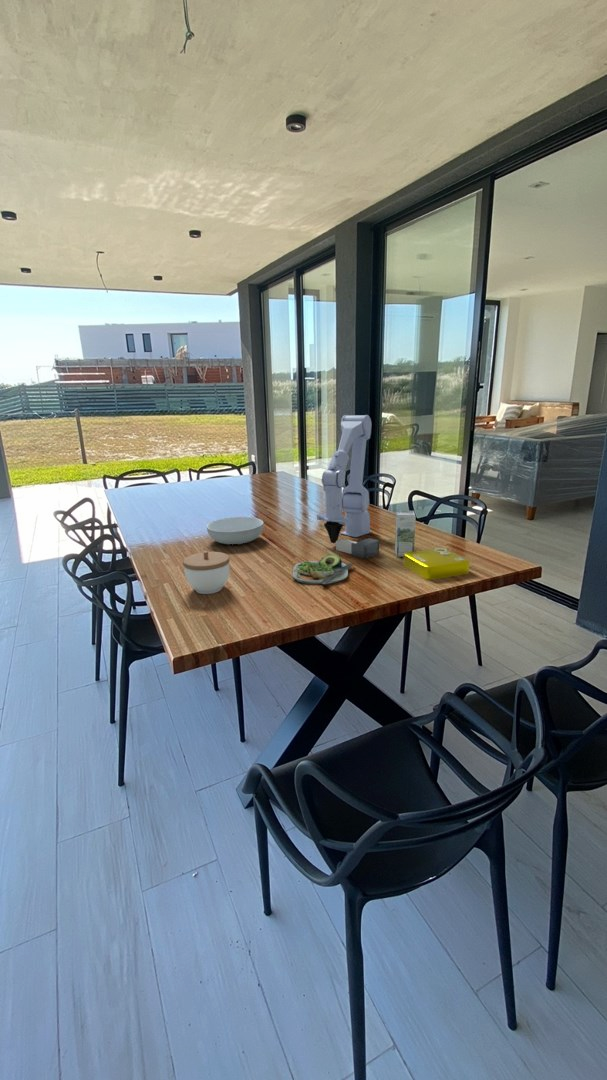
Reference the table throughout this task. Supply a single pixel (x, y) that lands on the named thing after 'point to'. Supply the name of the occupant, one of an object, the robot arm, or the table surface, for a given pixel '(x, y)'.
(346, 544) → the gray rectangular block
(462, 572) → the element tile
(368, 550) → the dark gray block
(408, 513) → the syrup box
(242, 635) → the table surface
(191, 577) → the lidded sugar bowl
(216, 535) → the serving bowl
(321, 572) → the salad plate
